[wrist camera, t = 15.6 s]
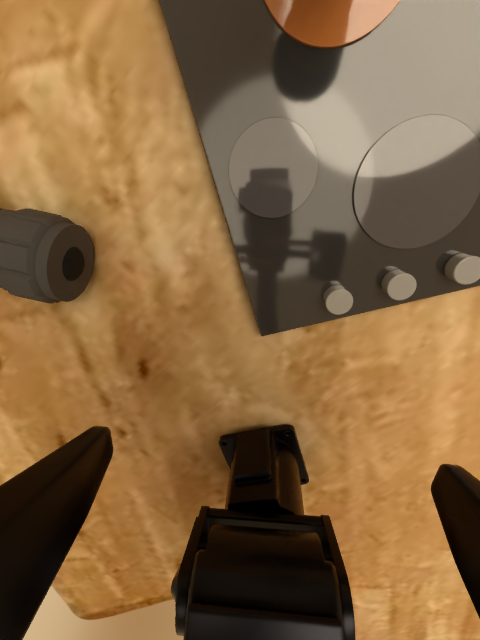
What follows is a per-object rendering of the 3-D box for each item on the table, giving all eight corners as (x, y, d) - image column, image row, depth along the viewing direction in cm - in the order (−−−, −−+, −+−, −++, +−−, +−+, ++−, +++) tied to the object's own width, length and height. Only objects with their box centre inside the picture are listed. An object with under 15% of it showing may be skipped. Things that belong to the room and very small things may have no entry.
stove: (487, 275, 18) (515, 285, 16) (261, 329, 21) (260, 343, 19) (493, -267, 11) (546, -376, 9) (141, -71, 13) (118, -118, 11)
